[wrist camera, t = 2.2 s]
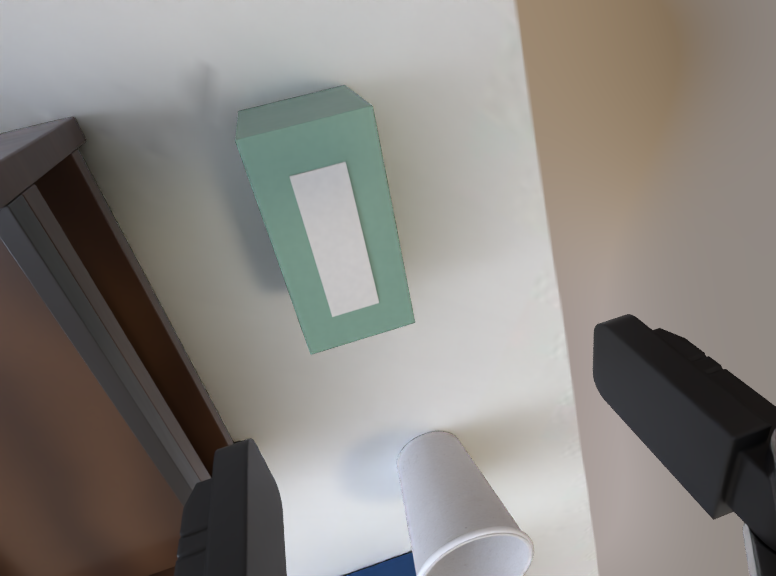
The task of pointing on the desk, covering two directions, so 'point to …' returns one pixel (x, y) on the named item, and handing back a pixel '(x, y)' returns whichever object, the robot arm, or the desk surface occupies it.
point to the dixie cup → (457, 513)
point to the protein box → (390, 567)
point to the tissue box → (328, 213)
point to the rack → (87, 380)
